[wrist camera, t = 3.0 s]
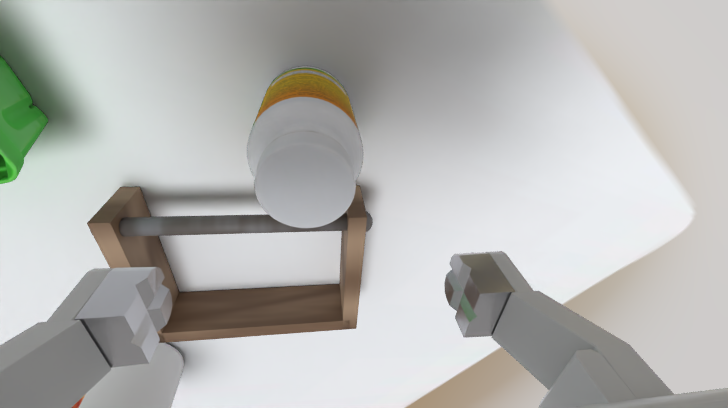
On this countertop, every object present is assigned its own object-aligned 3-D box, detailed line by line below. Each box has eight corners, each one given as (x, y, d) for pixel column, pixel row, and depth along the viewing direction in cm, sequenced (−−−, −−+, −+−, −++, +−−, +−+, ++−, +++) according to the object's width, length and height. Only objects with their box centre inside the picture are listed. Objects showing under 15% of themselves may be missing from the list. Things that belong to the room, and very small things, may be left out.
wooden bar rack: (110, 187, 22) (75, 223, 18) (367, 185, 24) (376, 217, 21) (160, 302, 29) (141, 344, 25) (357, 291, 31) (362, 327, 28)
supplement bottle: (250, 76, 19) (207, 144, 11) (339, 55, 19) (359, 108, 11) (281, 156, 22) (264, 254, 14) (357, 138, 22) (382, 226, 14)
